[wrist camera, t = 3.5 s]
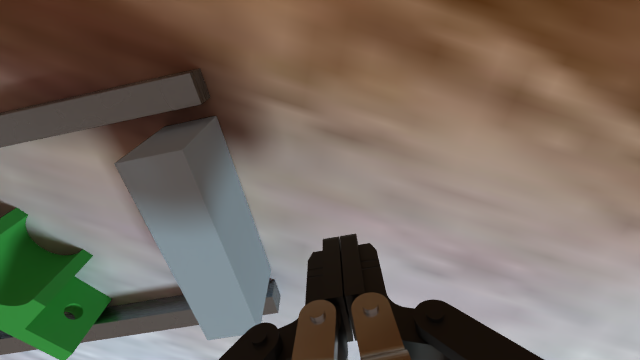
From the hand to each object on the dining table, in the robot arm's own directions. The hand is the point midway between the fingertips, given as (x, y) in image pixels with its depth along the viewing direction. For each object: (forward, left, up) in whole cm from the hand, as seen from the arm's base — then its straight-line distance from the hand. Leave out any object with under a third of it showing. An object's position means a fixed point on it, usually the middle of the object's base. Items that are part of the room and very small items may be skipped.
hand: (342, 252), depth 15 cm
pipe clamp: (+1, -20, -6) cm, 21 cm away
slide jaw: (0, -7, -6) cm, 9 cm away
